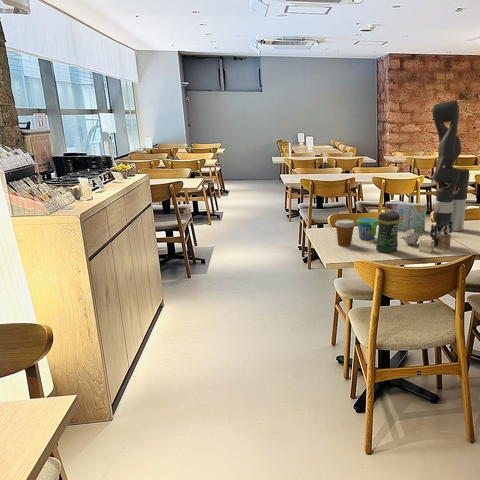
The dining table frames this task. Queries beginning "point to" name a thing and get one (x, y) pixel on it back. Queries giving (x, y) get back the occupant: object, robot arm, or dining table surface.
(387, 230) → the coffee jar
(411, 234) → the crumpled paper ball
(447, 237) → the walnut block
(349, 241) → the disposable coffee cup
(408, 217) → the snack box
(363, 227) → the snack cup
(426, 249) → the maple block
